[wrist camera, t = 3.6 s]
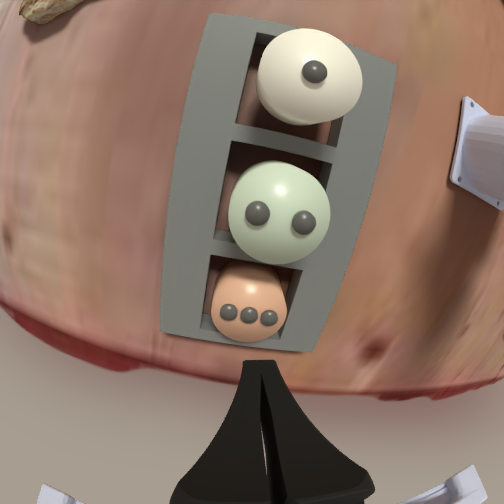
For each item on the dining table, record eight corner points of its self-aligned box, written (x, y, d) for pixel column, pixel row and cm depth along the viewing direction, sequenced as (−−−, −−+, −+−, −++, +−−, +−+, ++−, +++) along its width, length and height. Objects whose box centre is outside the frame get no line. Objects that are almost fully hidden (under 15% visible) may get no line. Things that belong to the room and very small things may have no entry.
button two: (321, 171, 15) (343, 180, 12) (301, 247, 17) (316, 274, 13) (239, 152, 14) (239, 155, 11) (224, 233, 16) (220, 257, 13)
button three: (287, 264, 20) (296, 290, 16) (271, 318, 21) (276, 348, 18) (220, 252, 19) (216, 277, 16) (211, 309, 21) (206, 339, 17)
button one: (345, 63, 12) (371, 47, 9) (330, 135, 14) (354, 135, 11) (265, 40, 12) (272, 15, 8) (247, 114, 14) (249, 106, 10)
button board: (383, 71, 14) (397, 65, 12) (307, 336, 22) (312, 352, 21) (212, 24, 13) (209, 12, 11) (165, 316, 21) (159, 331, 19)
